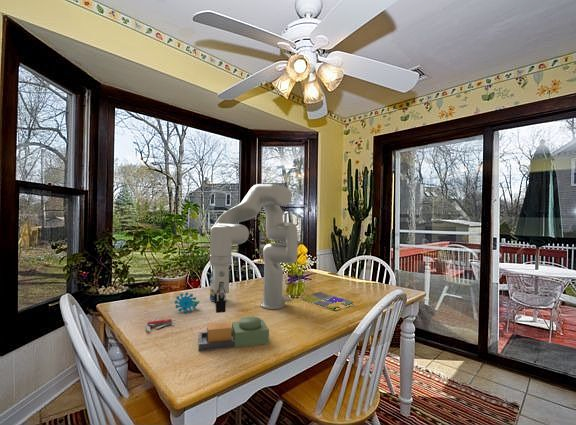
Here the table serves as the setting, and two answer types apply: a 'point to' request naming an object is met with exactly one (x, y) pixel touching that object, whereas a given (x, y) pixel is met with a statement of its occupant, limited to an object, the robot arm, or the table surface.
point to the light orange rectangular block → (219, 331)
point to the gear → (186, 302)
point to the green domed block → (250, 332)
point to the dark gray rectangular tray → (213, 343)
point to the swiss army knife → (159, 323)
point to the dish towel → (320, 296)
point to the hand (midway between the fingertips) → (219, 307)
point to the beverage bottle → (212, 288)
